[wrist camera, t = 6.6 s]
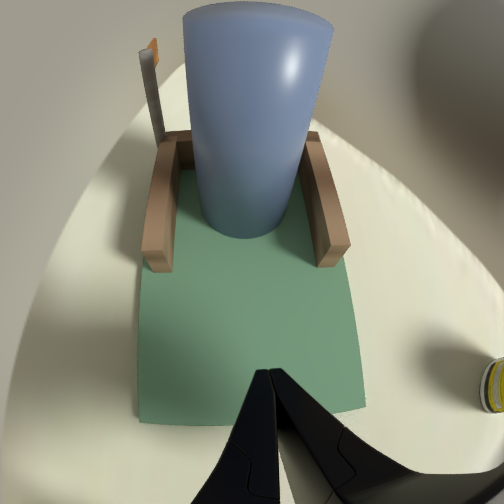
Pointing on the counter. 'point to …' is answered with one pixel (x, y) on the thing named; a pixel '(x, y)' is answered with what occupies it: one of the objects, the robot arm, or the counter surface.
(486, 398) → the supplement bottle
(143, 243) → the wooden rack
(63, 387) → the counter surface
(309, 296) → the felt mat
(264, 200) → the blue domed cylinder
